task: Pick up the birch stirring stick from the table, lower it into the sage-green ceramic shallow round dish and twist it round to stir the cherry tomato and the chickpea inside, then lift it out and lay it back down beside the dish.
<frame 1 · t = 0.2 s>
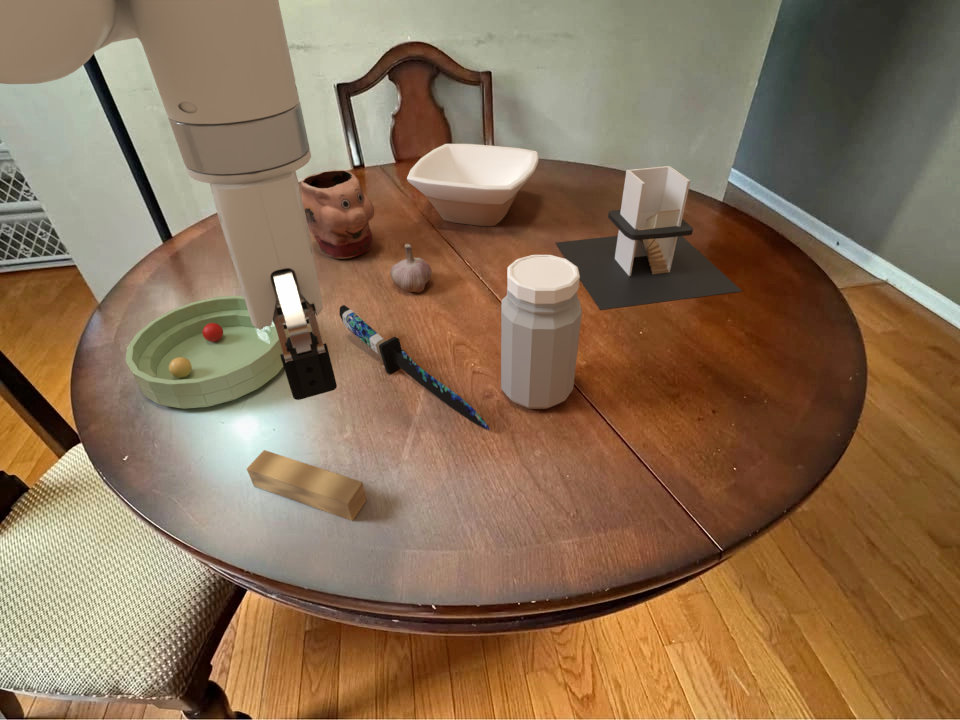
hand: (305, 356, 45), 22 cm above the table, tool pointing down, fingers open, 9 cm apart
model building: (641, 266, 100), on the table
bowl: (476, 213, 120), on the table
jar: (536, 389, 75), on the table
stick: (309, 492, 62), on the table
decorative planter: (341, 247, 109), on the table
tomato: (215, 340, 83), point 1 cm above the table, touching shallow round dish
garlic bulb: (411, 286, 96), on the table
shallow round dish: (219, 363, 80), on the table
chickpea: (184, 375, 77), point 1 cm above the table, touching shallow round dish
knife: (409, 380, 77), on the table
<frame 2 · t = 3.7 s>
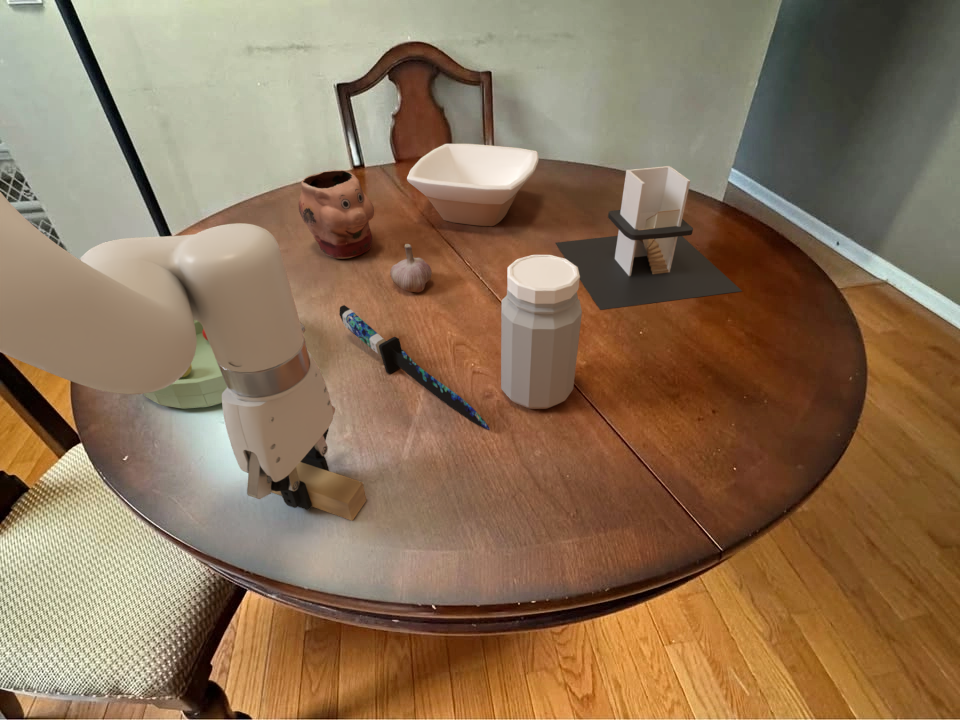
hand: (308, 490, 61), 0 cm above the table, tool pointing down, fingers closed on stick, 3 cm apart
stick: (309, 492, 62), on the table, touching gripper
everything else where it was.
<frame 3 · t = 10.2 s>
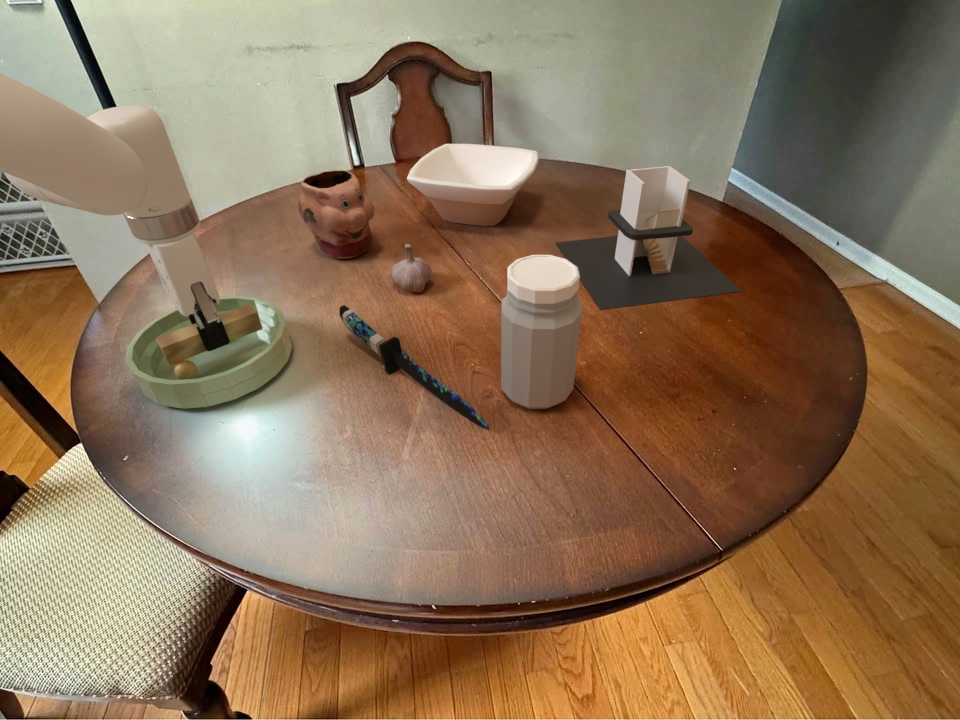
hand: (213, 339, 78), 4 cm above the table, tool pointing down, fingers closed on stick, 3 cm apart
stick: (214, 341, 79), point 3 cm above the table, touching chickpea, gripper
chickpea: (183, 373, 77), point 1 cm above the table, tilted 47°, touching shallow round dish, stick
everything else where it was.
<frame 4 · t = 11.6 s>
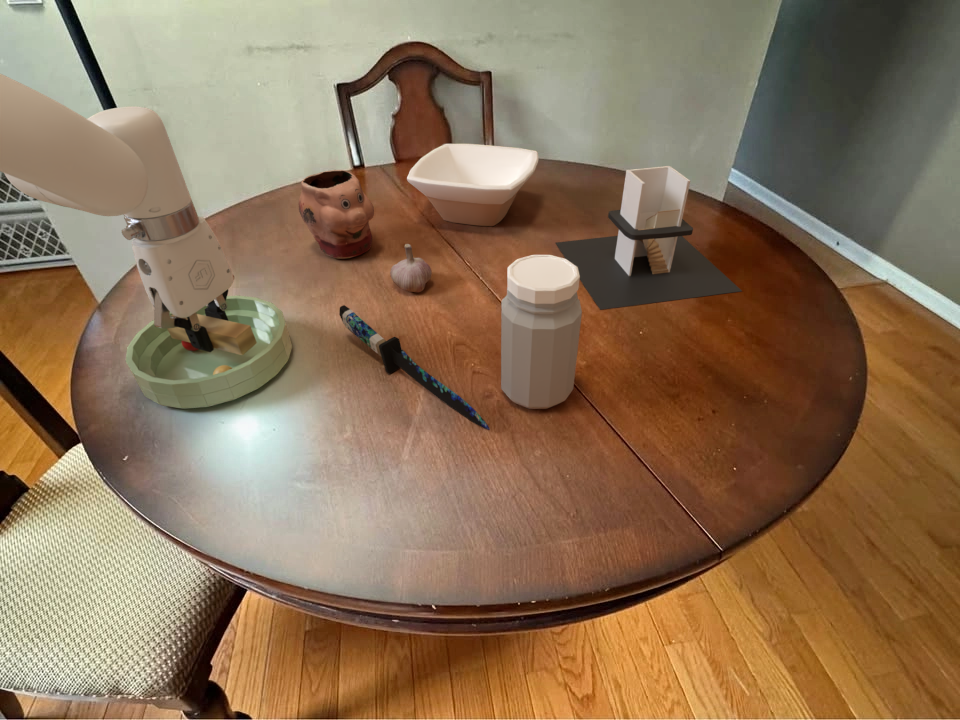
hand: (213, 340, 78), 4 cm above the table, tool pointing down, fingers closed on stick, 3 cm apart
stick: (213, 340, 78), point 4 cm above the table, touching gripper, tomato
tomato: (198, 334, 81), point 3 cm above the table, tilted 126°, touching shallow round dish, stick
chickpea: (234, 378, 75), point 2 cm above the table, tilted 65°, touching shallow round dish
everything else where it was.
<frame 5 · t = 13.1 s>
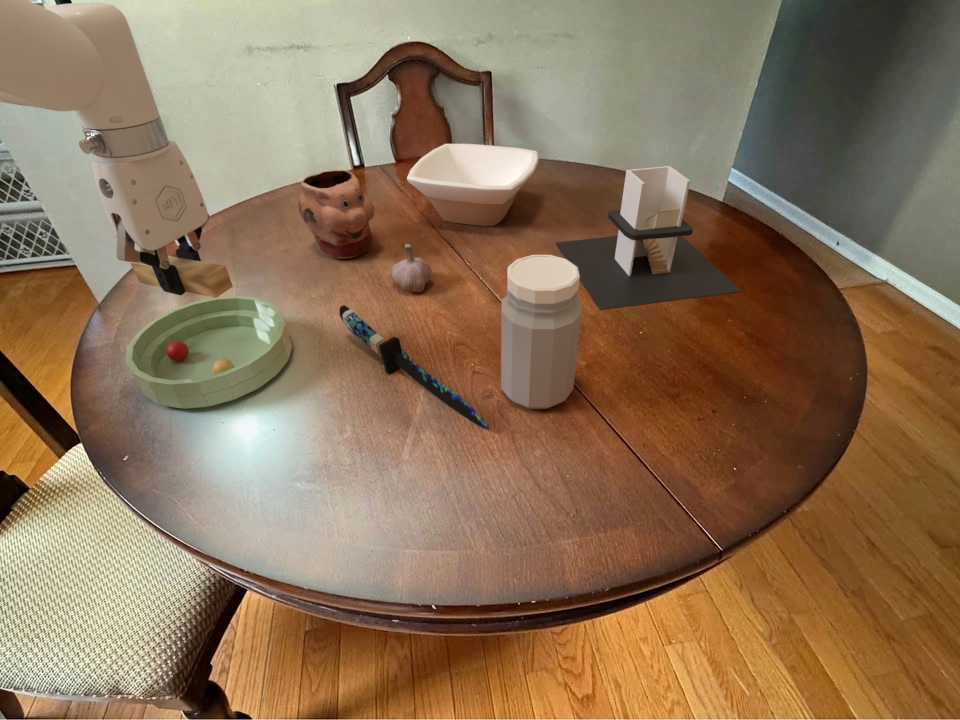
hand: (185, 284, 72), 13 cm above the table, tool pointing down, fingers closed on stick, 3 cm apart
stick: (185, 284, 72), point 13 cm above the table, touching gripper
tomato: (173, 353, 78), point 3 cm above the table, tilted 117°, touching shallow round dish
chickpea: (232, 369, 75), point 2 cm above the table, tilted 96°, touching shallow round dish
everything else where it was.
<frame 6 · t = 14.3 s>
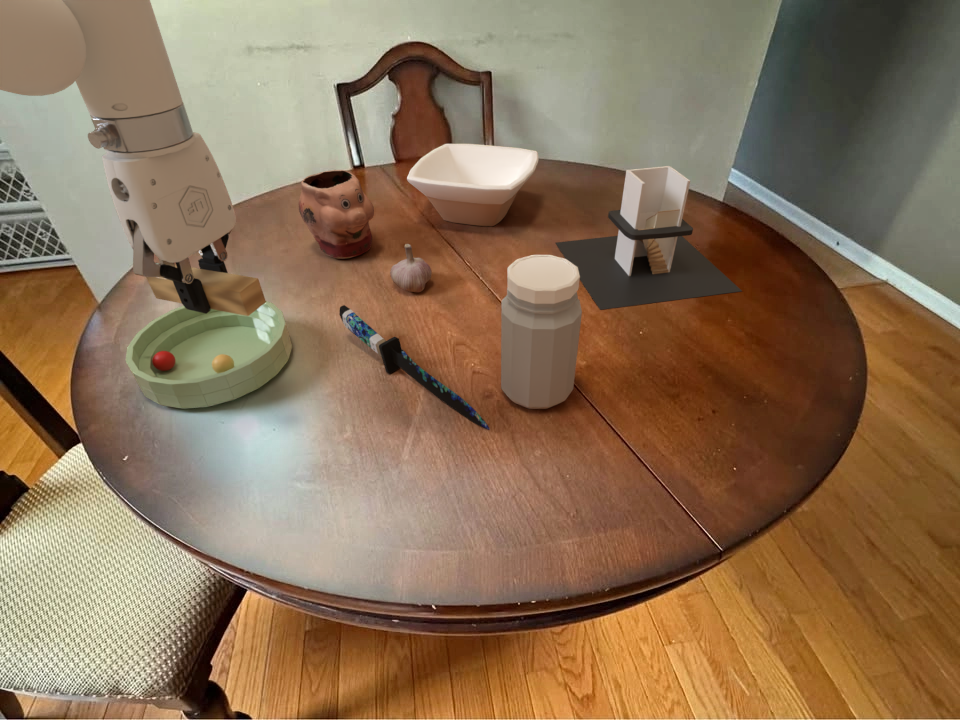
hand: (210, 300, 62), 17 cm above the table, tool pointing down, fingers closed on stick, 3 cm apart
stick: (210, 300, 62), point 17 cm above the table, touching gripper
tomato: (167, 370, 78), point 1 cm above the table, tilted 35°, touching shallow round dish
chickpea: (230, 360, 76), point 3 cm above the table, tilted 118°, touching shallow round dish
everything else where it was.
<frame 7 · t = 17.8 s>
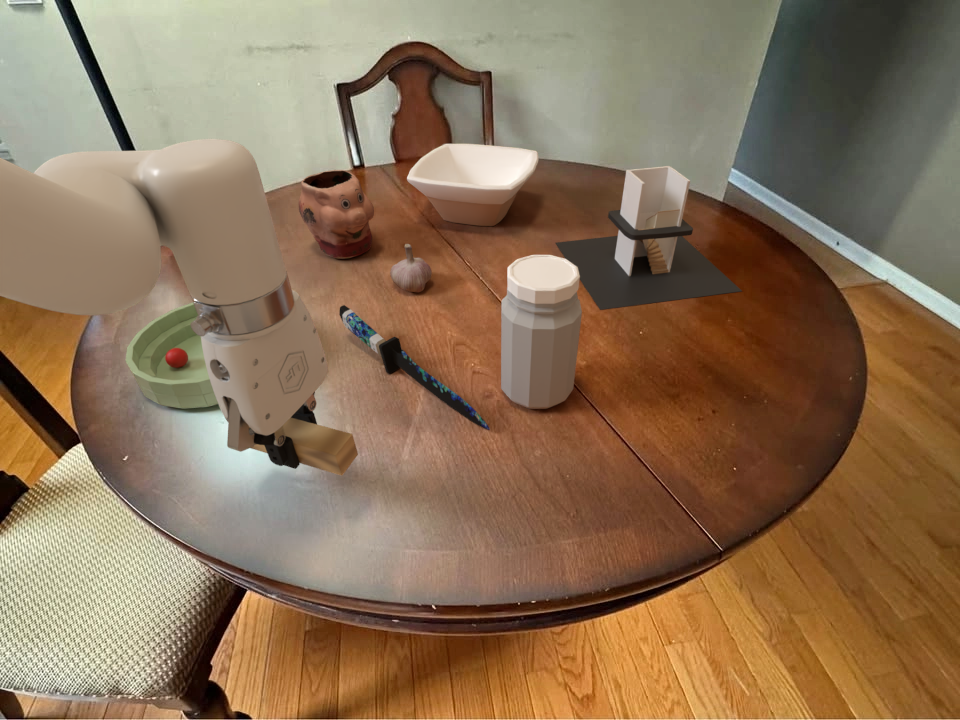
hand: (296, 449, 57), 7 cm above the table, tool pointing down, fingers closed on stick, 3 cm apart
stick: (297, 449, 57), point 7 cm above the table, touching gripper
tomato: (170, 365, 77), point 2 cm above the table, tilted 69°, touching shallow round dish
chickpea: (230, 347, 80), point 2 cm above the table, tilted 81°, touching shallow round dish
everything else where it was.
when the fingers open (0 cm above the table, at t = 19.7 s): stick stays where it is, on the table.
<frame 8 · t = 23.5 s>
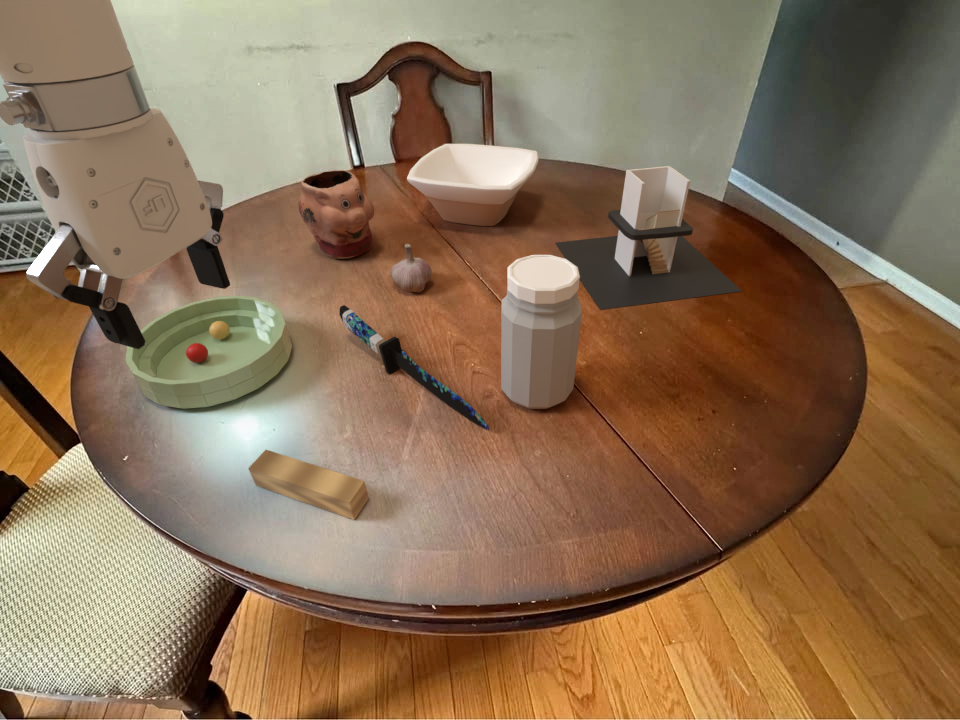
hand: (175, 312, 48), 23 cm above the table, tool pointing down, fingers open, 9 cm apart
stick: (311, 492, 62), on the table
tomato: (193, 349, 77), point 3 cm above the table, tilted 144°, touching shallow round dish
chickpea: (226, 325, 83), point 3 cm above the table, tilted 120°, touching shallow round dish
everything else where it was.
at the end: tomato moved 6.3 cm from its start; tomato inside the target area in the shallow round dish (2.3 cm from its centre), point 3.3 cm above the shallow round dish's base; stick inside the target area (0.2 cm from its centre), on the table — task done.
